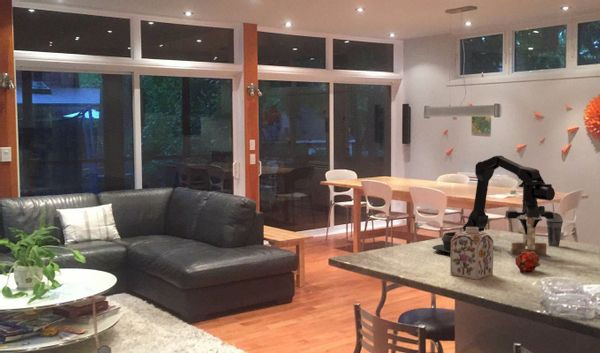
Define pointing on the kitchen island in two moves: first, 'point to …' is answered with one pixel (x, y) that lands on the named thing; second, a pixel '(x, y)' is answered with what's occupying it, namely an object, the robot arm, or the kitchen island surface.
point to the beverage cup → (554, 229)
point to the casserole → (445, 242)
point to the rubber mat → (538, 255)
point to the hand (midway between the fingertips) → (528, 234)
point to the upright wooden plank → (529, 237)
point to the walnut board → (521, 247)
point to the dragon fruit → (527, 261)
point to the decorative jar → (471, 254)
